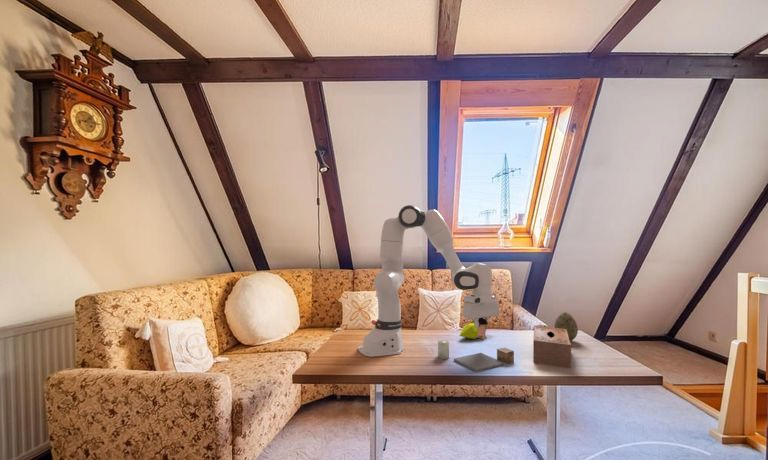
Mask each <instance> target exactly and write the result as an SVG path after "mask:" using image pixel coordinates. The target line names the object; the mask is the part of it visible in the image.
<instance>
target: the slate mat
mask: <svg viewBox="0 0 768 460" xmlns="http://www.w3.org/2000/svg"><path fill="white" fill-rule="evenodd" d="M453 362H455V363H457V364H459V365H461V366H463V367H465V368H467V369H469V370H470V371H473V372H475V373H478V371H479V372H482V370H483V371H486V370H485V369H487V370H489V368H491V369H494V368H493V367H495V368H498V367H497V366H499V367H502V366H501V365H503V366H505V364H504V362H501V361H499V360H497V358H494V357H492V356H489V355H487V354H484V353H483V352H478V353H473V354H469V355H464V356H460V357H459V356H458V357H455V358H453Z"/></svg>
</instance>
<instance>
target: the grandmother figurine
mask: <svg viewBox="0 0 768 460" xmlns="http://www.w3.org/2000/svg"><path fill="white" fill-rule="evenodd" d="M478 322H479V323H480V327H478V336H477V338H479V339H480V338H481V339H483V340H484V339H488V337H487V335H486V332H485V324H486V326H487V329H489V328H490V326H488V325H489V324H488V323H489V322H487V321H486V319H484V317H482V318H479V320H478ZM474 325H475V322H474Z"/></svg>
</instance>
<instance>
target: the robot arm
mask: <svg viewBox="0 0 768 460" xmlns="http://www.w3.org/2000/svg"><path fill="white" fill-rule="evenodd" d="M417 227H420V228H422V229H423V231H424V233H425V234H426V236H427V239H428V240H429V242H430V243H431V245H432V246H433V247H434V248H435V249H436V250H437V251H438V252H439V253H440V254H441V256H442V257H443V258H444V260H445V263H446V264H447V266H448V268H449V270H450V275H451V277H450V278H451V281H452V283H453V284H454V285H455V287H456V288H457V289H459V290H460V291H461V290H462V291H468V290H469V291H470V290H472V292H470V293H469V294H467V295H466V296H464V297H463V302H464V303H463V305H462V316H463V318H464V319H465V320H472V319H473V321H475V326H476V327H480V323H479V322H478V320H479V318H482V317H484V319H486V321H487V322H488V321H489V320H490V317H494V316H495V317H496V316H499V314H500V306H499V305H500V304H499V299H498V296H495V295H493V292H492V291H493V290H492V284H493V270H492V268H491V266H489V265H488V264H486V263H482V262H475V263H474V264H472V265H471V266H468V267H465V266H464V264H463V263H462V262H461V261H460V259H459V257H458V255H457V253H456V249H455V247H454V237H453V233H452V231H451V230H450V227H449V226H448V224H447V222H446V220H445V219H444V217H443V216H442V215H441V213H440V212H439V211H438V210H436V209H428V210H426V211H424V210H422V209H420V208H419V207H418V206H416V205H412V204H409V205H405V206H402V208H401V209H400V210H399V212H398V215H397V217H390V218H387V219H386V220H384V221H383V225H382V231H381V235H380V248H379V249H380V250H379V257H380V261H381V271H379V272H378V273H377V274H376V275H375V277H374V279H373V286H374V289H375V292H376V298H377V305H378V306H377V308H378V309H377V310H378V313H377V315H378V317H377V319H376V320H374V319H372V320H371V322H370V323H371V324H372V325H374V328H373V329H371V330H370V331H369V332H368V333H367V334H365V336H364V337H363V340H362V345H360V346H358V348H357V349H358V352H359V353H360V354H361V355H363V356H366V357H369V358H371V357H373V358H374V357H382V356H392V355H399V354H401V353H402V352H403V351H404V349H405V347H404V343H403V342H404V341H403V336H402V328H403V327H402V324H403V323H402V317H401V315H402V313H401V308H402V306H401V305H402V303H401V301H400V296H399V288H400V287H401V286H402V285H403V283H404V280H405V276H404V262H403V253H404V251H403V249H404V235H405V231H406V230H408V229H414V228H417ZM492 295H493V296H492ZM488 323H489V322H488ZM485 326H486V324H485Z"/></svg>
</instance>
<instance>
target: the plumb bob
mask: <svg viewBox="0 0 768 460" xmlns="http://www.w3.org/2000/svg"><path fill="white" fill-rule="evenodd" d="M474 322H475V321H474V320H472V321H470V323H467V324H465V325H463V327H462V329H461V331H460V334H459V337H463V338H466V339H469V340H473V339H477V338H478V337H477V336H478V327H476V326H475V325H474ZM493 323H494V322H488V326H489V327H490V326H492V325H493ZM487 330H488V328H487V326H485V333H486V332H487Z"/></svg>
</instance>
